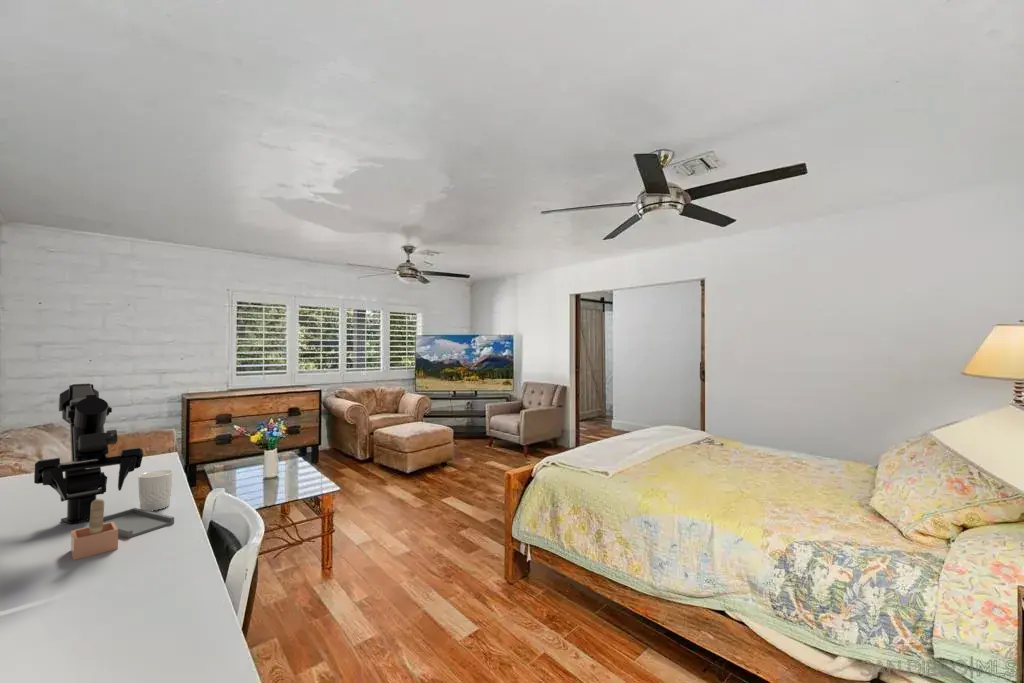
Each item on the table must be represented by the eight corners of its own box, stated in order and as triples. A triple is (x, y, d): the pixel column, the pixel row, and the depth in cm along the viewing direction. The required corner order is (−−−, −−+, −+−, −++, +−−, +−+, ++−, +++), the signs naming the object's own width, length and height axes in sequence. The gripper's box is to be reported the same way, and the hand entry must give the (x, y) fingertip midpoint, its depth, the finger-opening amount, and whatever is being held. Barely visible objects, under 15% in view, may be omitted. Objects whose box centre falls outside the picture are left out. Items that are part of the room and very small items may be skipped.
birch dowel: (87, 547, 100) (88, 495, 100) (100, 543, 101) (101, 492, 101) (90, 555, 96) (91, 501, 96) (104, 552, 97) (105, 498, 97)
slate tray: (89, 529, 113) (89, 520, 113) (134, 515, 122) (135, 507, 122) (128, 540, 106) (128, 531, 106) (174, 525, 115) (174, 517, 115)
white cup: (152, 513, 124) (153, 478, 124) (130, 511, 126) (130, 476, 126) (178, 504, 132) (179, 470, 132) (157, 502, 133) (158, 469, 134)
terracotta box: (70, 552, 100) (71, 530, 100) (113, 542, 105) (113, 521, 105) (73, 562, 95) (73, 539, 95) (117, 551, 100) (118, 529, 101)
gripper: (35, 425, 99) (36, 483, 92) (142, 415, 113) (150, 465, 106) (34, 455, 104) (34, 512, 97) (136, 442, 118) (143, 492, 111)
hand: (93, 494), depth 102 cm, fingers open, 9 cm apart
